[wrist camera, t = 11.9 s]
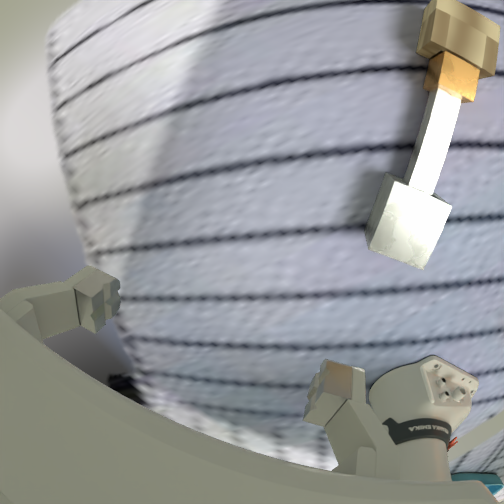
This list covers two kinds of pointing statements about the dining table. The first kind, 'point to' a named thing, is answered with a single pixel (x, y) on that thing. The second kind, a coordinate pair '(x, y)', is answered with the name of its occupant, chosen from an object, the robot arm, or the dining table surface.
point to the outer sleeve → (405, 222)
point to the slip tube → (439, 117)
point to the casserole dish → (481, 480)
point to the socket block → (459, 35)
